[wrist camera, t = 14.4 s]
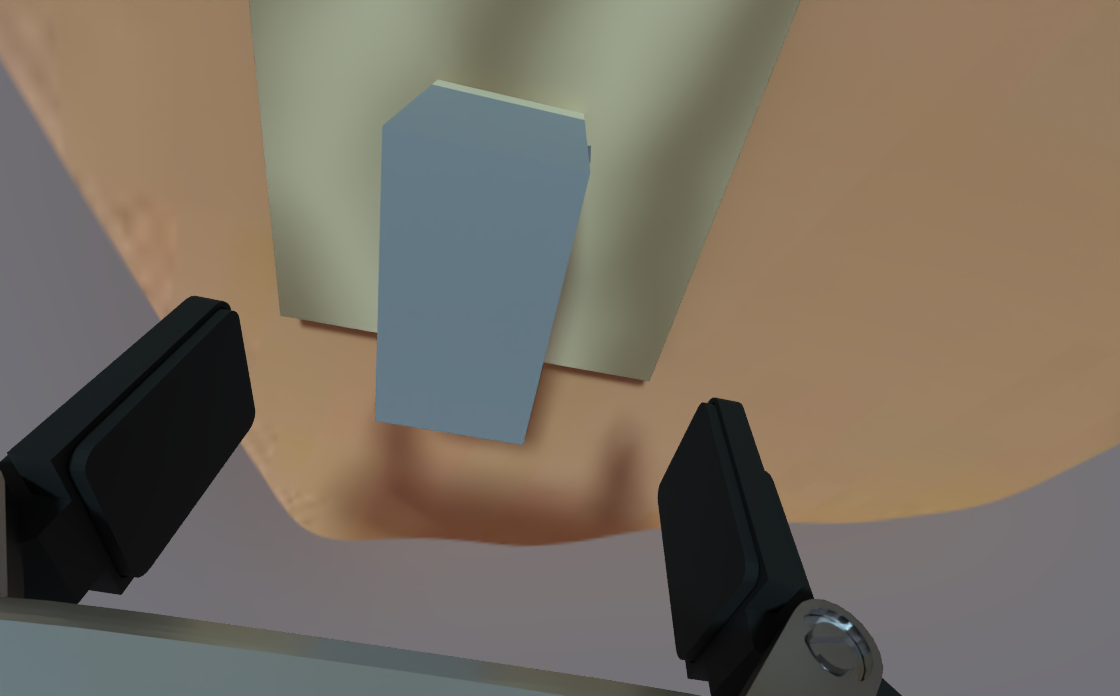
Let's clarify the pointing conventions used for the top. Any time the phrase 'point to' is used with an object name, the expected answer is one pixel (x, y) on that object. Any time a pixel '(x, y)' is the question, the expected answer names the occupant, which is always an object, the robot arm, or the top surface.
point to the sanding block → (473, 256)
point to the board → (534, 75)
